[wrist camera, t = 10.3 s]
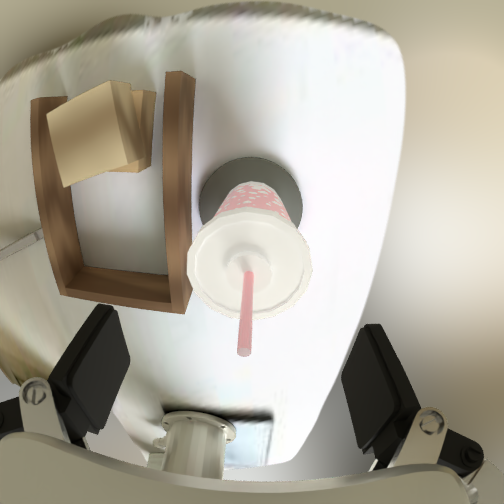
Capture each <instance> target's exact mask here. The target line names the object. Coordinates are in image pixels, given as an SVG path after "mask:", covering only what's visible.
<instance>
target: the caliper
mask: <svg viewBox="0 0 504 504" xmlns="http://www.w3.org/2000/svg"><path fill="white" fill-rule="evenodd" d="M42 238H44V235H43V230H42V228H41V229H38V230H36V231H34V232H32V233H30V234H28V235H26V236H25V237H23V238H21V239H19V240H17V241H15V242H14V243H12V244H10V245H8V246H7V247H5V248H3V249H1V250H0V261H1V260H2V259H4V258H6V257H8V256H10V255H12V254H13V253H15V252H17V251H19V250H21V249H23V248H25V247H27V246H29V245H31V244H33V243H35V242H37V241H38V240H40V239H42Z"/></svg>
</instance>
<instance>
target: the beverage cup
mask: <svg viewBox="0 0 504 504" xmlns="http://www.w3.org/2000/svg"><path fill="white" fill-rule="evenodd" d="M312 271H313V269H312V262H311V256H310V250H309V247H308V245H307V244H306V241H305V239H304V238H303V236H302V235H301V234H300V232H299V231H298V229H297V228H296V227H295V225H294V224H293V223H292V222H291V220H290V217H289V215H288V213H287V211H286V209H285V207H284V205H283V203H282V201H281V199H280V197H279V196H278V194H277V193H276V192H275V190H274V189H272V188H271V187H269V186H268V185H266V184H264V183H260V182H253V181H250V182H246V183H242V184H239V185H238V186H236V187H235V188H234V189H232V190H231V191H230V192H229V194H228V195H227V197H226V198H225V200H224V201H223V203H222V205H221V206H220V208H219V209H218V211H217V213H216V214H215V216H214V217H213V219H211V220H210V221H209V222H207V223H206V224H205V225H203V226H202V228H201V229H200V230H199V232H198V234H197V236H196V238H195V240H194V241H193V243H192V245H191V247H190V249H189V251H188V254H187V276H188V278H189V280H190V283H191V285H192V287H193V290H194V292H195V294H196V295H197V296H198V297H199V298H200V299H201V300H202V301H203V302H204V303H205V304H206V305H207V306H208V307H209V308H211V309H213V310H215V311H217V312H219V313H221V314H223V315H225V316H227V317H230V318H236V319H240V323H239V335H238V346H237V353H238V355H240V356H243V357H246V356H249V355H250V354H251V343H252V320H258V319H264V318H270V317H274V316H276V315H278V314H280V313H282V312H284V311H286V310H287V309H289V308H291V307H293V306H294V305H295V303H296V302H297V301H298V300H299V299H300V298H301V297H302V295H303V294H304V293H305V292H306V291H307V288H308V285H309V281H310V278H311V275H312Z"/></svg>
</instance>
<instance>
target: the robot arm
mask: <svg viewBox="0 0 504 504" xmlns="http://www.w3.org/2000/svg"><path fill="white" fill-rule="evenodd" d="M129 365H130V355H129V352H128V349H127V345H126V342H125V339H124V335H123V331H122V328H121V324H120V320H119V316H118V312H117V311H116V310H114V308H113V306H111V305H105V304H98V305H97V306H96V307H95V308H94V310H93V311H92V312H91V314H90V315H89V317H88V318H87V319H86V321H85V322H84V324H83V325H82V327H81V328H80V329H79V331H78V332H77V334H76V335H75V337H74V338H73V340H72V341H71V343H70V344H69V346H68V347H67V349H66V350H65V352H64V353H63V355H62V356H61V358H60V360H59V361H58V363H57V364H56V366H55V367H54V369H53V371H52V372H51V374H50V376H49V378H48V380H47V381H46V380H44V379H43V378H38V377H36V378H31V379H29V380H27V381H26V382H25V383H23V385H22V386H21V388H20V391H19V397H16V398H13V399H10V400H7V401H4V402H1V403H0V504H504V474H503V473H502V472H501V471H500V470H499V469H498V468H497V467H496V466H495V465H494V464H492V463H491V462H490V461H489V460H488V459H486V460H483V458H484V454H483V450H482V448H481V446H480V445H479V444H478V443H477V442H475V441H473V440H471V439H469V438H467V437H465V436H462V435H460V434H458V433H456V432H454V431H452V430H450V429H448V428H447V427H448V422H447V418H446V416H445V415H444V414H443V412H442V411H440V410H439V409H437V408H434V407H425V408H422V409H421V407H420V404H419V402H418V400H417V397H416V395H415V393H414V390H413V388H412V386H411V384H410V382H409V380H408V377H407V375H406V373H405V371H404V369H403V367H402V365H401V362H400V361H399V359H398V357H397V355H396V353H395V351H394V349H393V347H392V345H391V343H390V341H389V339H388V337H387V336H386V333H385V332H384V330H383V328H382V326H381V325H380V324H366V325H365V326H364V328H361V329H360V331H359V333H358V336H357V338H356V341H355V343H354V346H353V348H352V351H351V353H350V355H349V358H348V360H347V362H346V365H345V367H344V369H343V372H342V375H341V380H342V384H343V388H344V391H345V395H346V399H347V403H348V407H349V411H350V415H351V419H352V423H353V427H354V432H355V436H356V440H357V444H358V447H359V448H360V449H362V451H363V454H370V453H374V454H375V458H376V460H375V461H374V463H373V465H372V466H371V468H370V470H369V471H368V472H365V473H359V474H353V475H346V476H339V477H332V478H324V479H314V480H301V481H275V482H258V481H257V482H256V481H234V480H223V471H224V459H225V448H226V444H228V443H230V442H232V441H233V440H234V439H235V438H236V429H235V428H234V426H233V425H232V424H230V423H229V422H227V421H226V420H224V419H221V418H219V417H216V416H213V415H210V414H206V413H201V412H194V411H175V412H170V413H168V414H166V415H165V416H164V417H163V419H162V427H163V428H164V430H165V431H166V432H167V433H166V436H164V437H163V438H157V439H154V440H153V445H154V446H155V447H156V448H162V447H166V448H165V453H164V458H163V463H162V468H161V471H160V470H156V469H151V468H147V467H143V466H139V465H135V464H131V463H128V462H124V461H120V460H117V459H114V458H111V457H108V456H105V455H102V454H98V453H96V452H93V451H91V450H90V448H89V446H88V443H87V441H86V438H85V435H86V433H87V431H89V432H91V433H94V434H97V435H98V433H99V430H100V429H103V428H104V426H105V424H106V421H107V419H108V416H109V414H110V411H111V408H112V406H113V403H114V401H115V398H116V396H117V394H118V391H119V389H120V386H121V384H122V381H123V379H124V377H125V374H126V372H127V370H128V367H129Z"/></svg>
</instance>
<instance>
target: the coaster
mask: <svg viewBox="0 0 504 504" xmlns="http://www.w3.org/2000/svg"><path fill="white" fill-rule="evenodd" d="M250 181H253V182H260V183H264V184H266V185H268V186H269V187H271V188H272V189H274V190H275V192H276V193H277V194H278V196H279V197H280V199H281V201H282V203H283V205H284V207H285V209H286V211H287V213H288V215H289V217H290V220H291V222H292V223H293V224H294V225H295V227H296V228H297V229H298V226H299V224H300V221H301V217H302V207H303V205H302V198H301V194H300V191H299V189H298V187H297V185H296V183H295V181H294V180H293V178H292V177H291V176H290V174H289V173H288V172H286V171H285V170H284V169H283V168H282V167H280V166H279V165H277V164H275V163H273V162H271V161H268V160H266V159H261V158H254V157H248V158H240V159H236V160H233V161H230V162H228V163H226V164H224V165H223V166H221V167H220V168H219V169H217V170H216V171H215V172H214V173H213V174H212V175H211V177H210V178H209V179H208V181H207V182H206V184H205V186H204V188H203V190H202V193H201V196H200V202H199V211H200V217H201V221H202V224H203V225H205V224H206V223H207V222H209V221H210V220H211V219H213V217H214V216H215V214H216V213H217V211H218V209H219V208H220V206H221V205H222V203H223V201H224V200H225V198H226V197H227V195H228V194H229V192H230V191H231V190H232V189H234V188H235V187H236V186H238V185H239V184H242V183H246V182H250Z"/></svg>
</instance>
